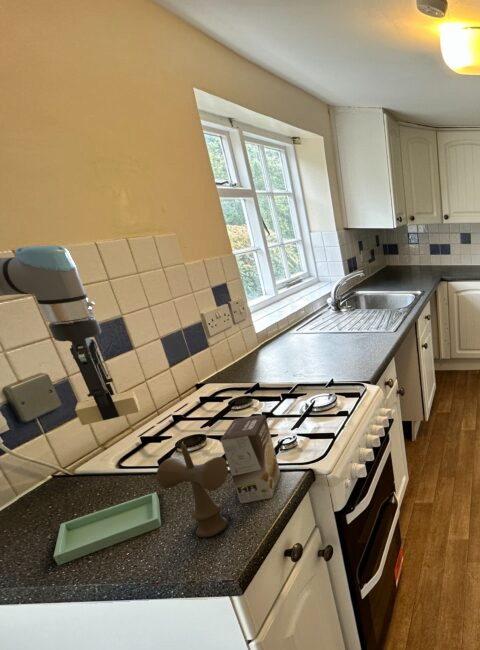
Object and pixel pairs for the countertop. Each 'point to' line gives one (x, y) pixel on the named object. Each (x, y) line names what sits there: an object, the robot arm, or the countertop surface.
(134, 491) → the countertop surface
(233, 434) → the coffee box
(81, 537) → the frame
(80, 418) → the tan block
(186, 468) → the kendama
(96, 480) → the countertop surface
